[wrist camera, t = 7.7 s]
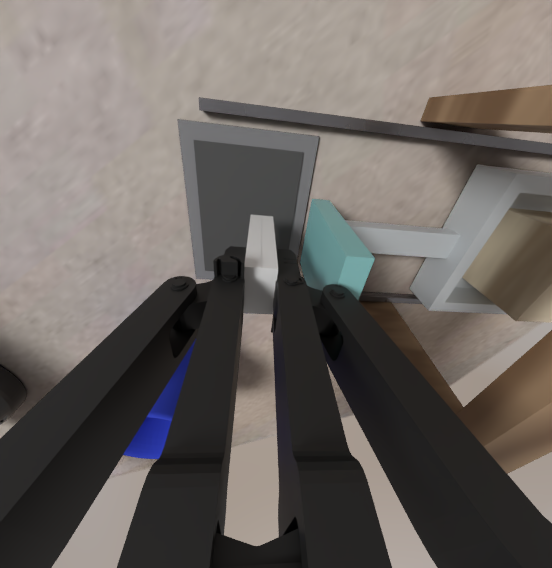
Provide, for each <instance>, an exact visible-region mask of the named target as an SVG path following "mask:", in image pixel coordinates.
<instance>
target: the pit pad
mask: <svg viewBox="0 0 552 568" xmlns="http://www.w3.org/2000/svg"><path fill="white" fill-rule="evenodd" d="M178 128H179V137H180V145H181V154H182V162H183V171H184V180H185V188H186V197H187V205H188V214H189V222H190V231H191V240H192V248H193V257H194V265H195V274H196V279H212V280H214V264H213V261H214V259H215V258H217V257H218V256H221V255H224V253H225V250H226V249H227V248H229V247H230V246H235V247H247V240H248V232H249V224H250V216H251V215H262V216H273V221H274V231H275V241H276V249H286V250H292V251H293V252H294V253H295V254H296V259H297V258H298V252H299V246H300V241H301V235H302V230H303V224H304V219H305V213H306V207H307V202H308V196H309V191H310V185H311V179H312V174H313V168H314V163H315V157H316V152H317V146H318V140H319V136H312V135H304V134H295V133H287V132H279V131H271V130H263V129H254V128H246V127H238V126H230V125H221V124H213V123H205V122H197V121H188V120H180V119H178Z"/></svg>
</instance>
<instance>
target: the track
mask: <svg viewBox="0 0 552 568" xmlns="http://www.w3.org/2000/svg"><path fill="white" fill-rule="evenodd" d="M199 109H200V110H201V111H209V112H217V113H225V114H233V115H241V116H249V117H257V118H265V119H273V120H281V121H289V122H297V123H304V124H312V125H320V126H328V127H336V128H344V129H352V130H360V131H368V132H376V133H384V134H392V135H400V136H407V137H415V138H423V139H431V140H439V141H447V142H455V143H463V144H471V145H479V146H487V147H495V148H503V149H511V150H518V151H526V152H534V153H542V154H550V155H552V144H550V143H542V142H534V141H527V140H519V139H512V138H504V137H496V136H489V135H481V134H474V133H466V132H458V131H451V130H443V129H435V128H428V127H420V126H413V125H405V124H397V123H390V122H382V121H375V120H367V119H359V118H352V117H344V116H337V115H329V114H321V113H314V112H306V111H299V110H291V109H283V108H276V107H268V106H261V105H253V104H245V103H238V102H230V101H223V100H215V99H207V98H200V97H199ZM358 301H374V302H393V303H413V304H422V303H421V301H420V300H419V299H418V298H417V297H416V296H415V295H410V294H392V293H373V292H361V295H360V297H359V300H358Z"/></svg>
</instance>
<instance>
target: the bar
mask: <svg viewBox="0 0 552 568" xmlns="http://www.w3.org/2000/svg"><path fill="white" fill-rule="evenodd" d="M462 278H463V279H465V280H466V281H467V282H468V283H469V284H471V285H472V286H473V287H474V288H476V289H477V290H478V291H479V292H481V293H482V294H483V295H484V296H485V297H487V298H488V299H489V300H490V301H492V302H493V303H494V304H495V305H497V306H498V307H499V308H500V309H502V310H503V311H504V312H505V313H506V314H508V315H509V316H510V317H511V318H513V319H514V320H515V321H529V322H551V323H552V212H546V211H536V210H526V209H515V208H509V210H508V211H507V213H506V214H505V215H504V217H503V218H502V220H501V221H500V223H499V224H498V226H497V227H496V229H495V230H494V231H493V233H492V234H491V236H490V237H489V239H488V240H487V242H486V243H485V245H484V246H483V248H482V249H481V250H480V252H479V253H478V255H477V256H476V258H475V259H474V261H473V262H472V264H471V265H470V266H469V268H468V269H467V271H466V272H465V274H464V275H463V277H462Z"/></svg>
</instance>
